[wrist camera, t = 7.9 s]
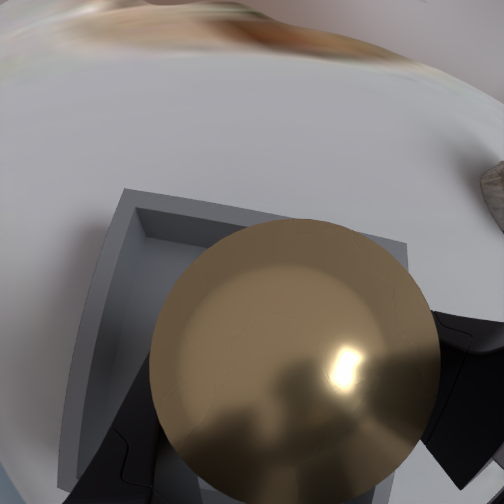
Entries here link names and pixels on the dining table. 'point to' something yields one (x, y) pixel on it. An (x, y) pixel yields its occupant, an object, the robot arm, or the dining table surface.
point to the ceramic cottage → (494, 192)
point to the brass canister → (294, 364)
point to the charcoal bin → (147, 315)
